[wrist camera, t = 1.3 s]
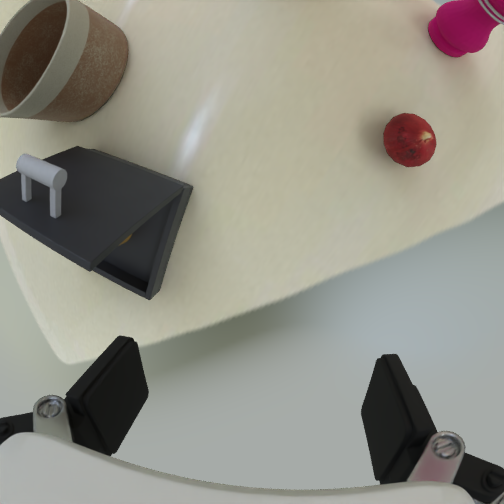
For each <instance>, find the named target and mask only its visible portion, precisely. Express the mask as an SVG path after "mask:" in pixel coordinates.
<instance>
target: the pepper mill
mask: <svg viewBox="0 0 504 504" xmlns="http://www.w3.org/2000/svg"><path fill="white" fill-rule="evenodd" d="M499 24H503V25H504V0H458V1H451V2H447V3H445V4H443V5H442V6H441V7H439V9H438V10H437V14H436V17H434V18H433V19H432V20H431V21H430V23H429V25H428V31H429V34H430V37H431V39H432V41H433V42H434V43H435V45H436V46H437V47H438V48H439V49H440V50H441V51H443V52H444V53H446V54H447V55H449V56H452V57H460V56H462V55H464V54H466V53H467V52H469V53H475V52H478V51H479V50H481V49H482V48H483V47H484V46H485V45H486V43H487V41H488V38H489V35H490V33H491V31H492V30H493V28H495V27H496V26H497V25H499Z"/></svg>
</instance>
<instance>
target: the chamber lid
mask: <svg viewBox="0 0 504 504" xmlns="http://www.w3.org/2000/svg"><path fill="white" fill-rule="evenodd" d="M16 168H17V171H16V172H14V173H12V174H10V175H8V176H6V177H4V178H2V179H0V215H1V216H2V217H4V218H5V219H6V220H8V221H9V222H11V223H12V224H14V225H15V226H17V227H18V228H20V229H21V230H23V231H24V232H26V233H27V234H29V235H30V236H32V237H33V238H35V239H36V240H38V241H40V242H41V243H43V244H44V245H46V246H48V247H49V248H51V249H52V250H54V251H56V252H57V253H59V254H61V255H62V256H64V257H66V258H67V259H69V260H71V261H72V262H74V263H76V264H77V265H79V266H81V267H83V268H84V269H86V270H88V271H92V270H93V269H94V268H95V267H96V266H97V265H98V264H99V263H100V262H101V261H102V260H103V259H104V258H105V257H107V256H108V255H109V254H110V253H111V252H112V251H113V250H114V249H115V248H116V247H117V246H119V245H120V244H121V243H122V242H123V241H124V240H125V239H126V238H128V237H129V236H130V235H131V234H132V233H133V232H134V231H135V230H137V229H138V228H139V227H140V226H141V225H142V224H144V223H145V222H146V221H147V220H148V219H149V218H151V217H152V216H153V215H154V214H155V213H157V212H158V211H159V210H160V209H161V208H163V207H164V206H165V205H166V204H168V203H169V202H170V201H171V200H173V199H174V198H175V197H176V196H178V195H179V194H180V193H181V192H182V190H183V187H184V186H183V185H181V184H178V183H176V182H173V181H171V180H168V179H165V178H163V177H160V176H158V175H155V174H152V173H150V172H147V171H145V170H142V169H139V168H137V167H134V166H131V165H129V164H126V163H123V162H121V161H118V160H115V159H113V158H110V157H107V156H104V155H102V154H99V153H96V152H93V151H90V150H88V149H85V148H82V147H79V146H76V147H74V148H71V149H68V150H66V151H63V152H60V153H58V154H55V155H53V156H50V157H48V158H45V159H43V160H41V159H38V158H36V157H34V156H31V155H29V154H22V155H21V156H20V157H19V159H18V160H17V164H16Z"/></svg>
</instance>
